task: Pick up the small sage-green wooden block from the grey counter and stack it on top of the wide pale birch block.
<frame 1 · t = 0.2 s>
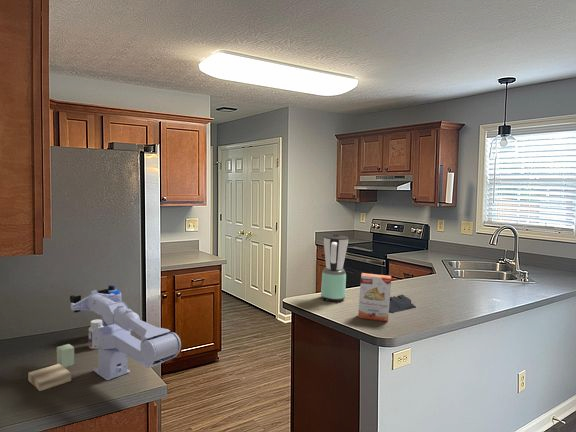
hand: (82, 295, 151), 21 cm above the worktop, tool horizontal, fingers open, 7 cm apart
birch block: (49, 381, 134), on the worktop
cracker box: (373, 318, 204), on the worktop
pill bottle: (96, 346, 160), on the worktop
aerosol can: (111, 335, 171), on the worktop
mint green blender: (332, 299, 231), on the worktop
green block: (65, 364, 145), on the worktop
dark slate chunk: (393, 307, 224), on the worktop
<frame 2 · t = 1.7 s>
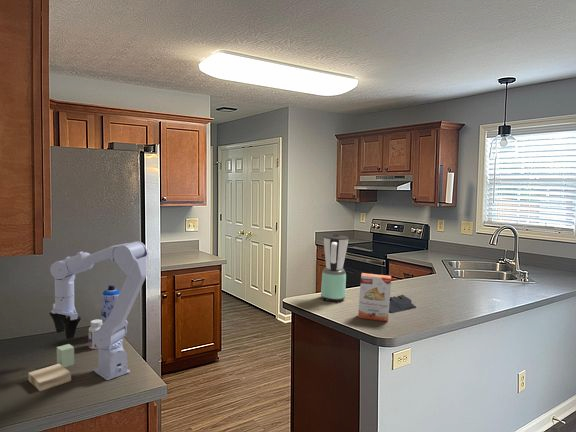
hand: (65, 335, 144), 10 cm above the worktop, tool pointing down, fingers open, 7 cm apart
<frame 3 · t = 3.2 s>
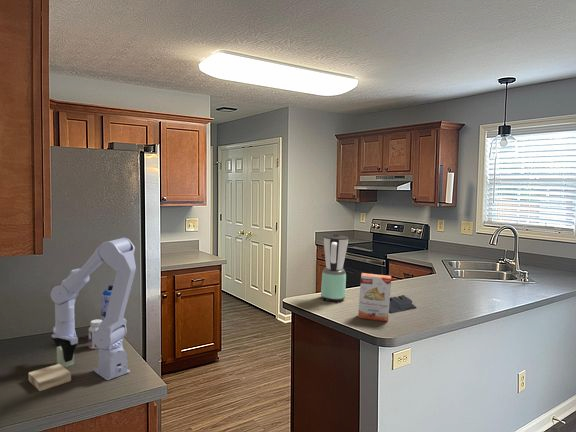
hand: (65, 358, 145), 2 cm above the worktop, tool pointing down, fingers closed on green block, 4 cm apart
green block: (65, 364, 145), on the worktop, touching gripper
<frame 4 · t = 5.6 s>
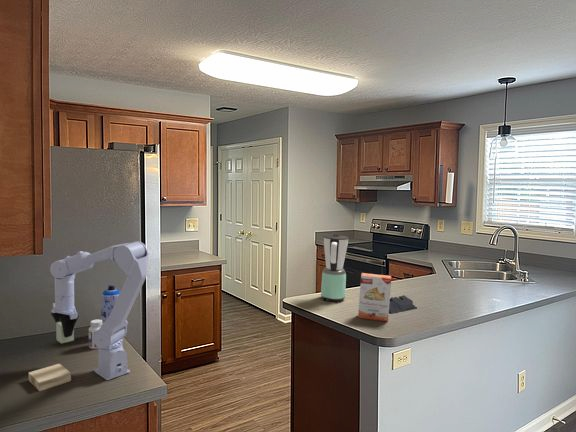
hand: (65, 334, 144), 10 cm above the worktop, tool pointing down, fingers closed on green block, 4 cm apart
green block: (65, 340, 144), point 8 cm above the worktop, touching gripper
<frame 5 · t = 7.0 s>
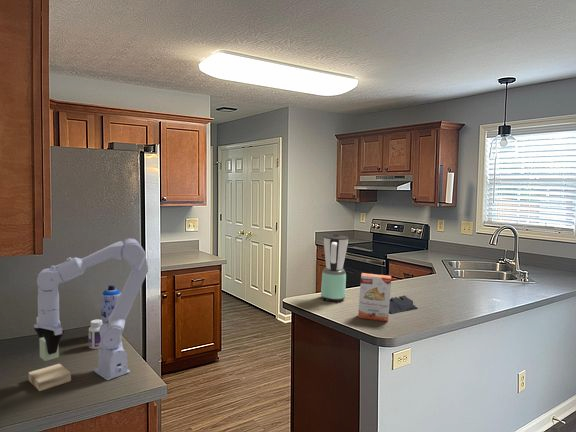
hand: (49, 351, 133), 10 cm above the worktop, tool pointing down, fingers closed on green block, 4 cm apart
green block: (49, 357, 133), point 8 cm above the worktop, touching gripper
when the fingers open (6 cm above the worktop, at t = 8.1 s): green block drops 1 cm, resting on birch block.
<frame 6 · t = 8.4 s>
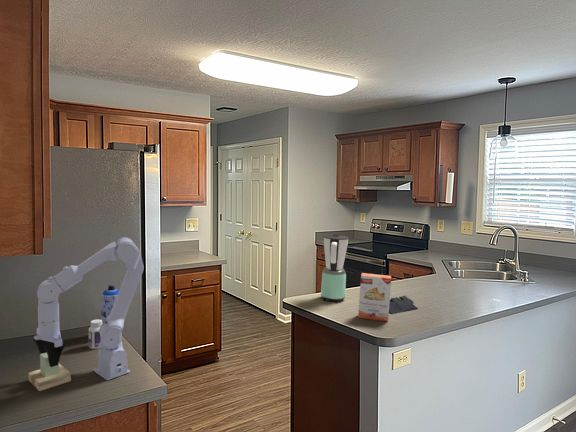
hand: (49, 362, 133), 6 cm above the worktop, tool pointing down, fingers open, 6 cm apart
birch block: (49, 382, 134), on the worktop, touching green block
green block: (49, 372, 133), point 2 cm above the worktop, touching birch block
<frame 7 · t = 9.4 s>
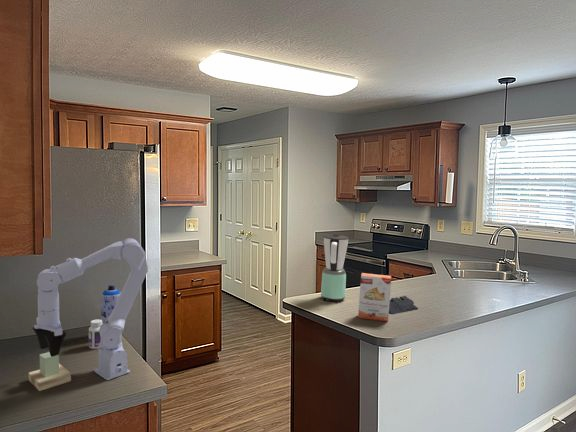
hand: (49, 351, 133), 9 cm above the worktop, tool pointing down, fingers open, 7 cm apart
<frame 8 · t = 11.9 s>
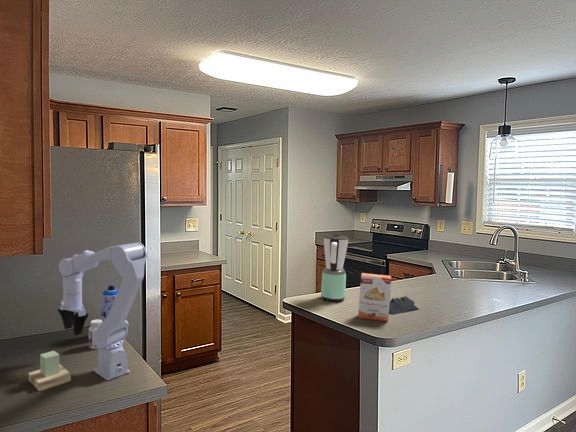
hand: (73, 331, 147), 10 cm above the worktop, tool pointing down, fingers open, 7 cm apart
at the end: green block 0.0 cm off-centre on the birch block, point 3.0 cm above the birch block's base; green block tilted 0°; the gripper is holding nothing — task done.
